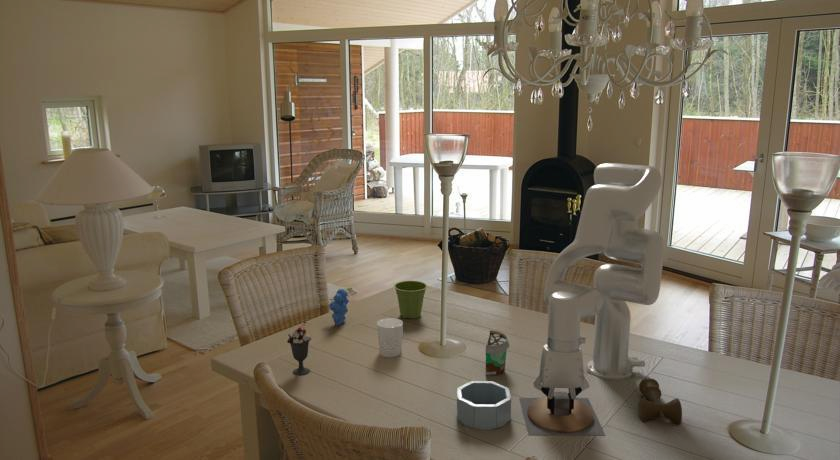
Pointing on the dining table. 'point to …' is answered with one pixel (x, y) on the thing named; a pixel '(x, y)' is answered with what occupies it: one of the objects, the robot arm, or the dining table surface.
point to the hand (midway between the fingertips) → (560, 410)
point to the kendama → (657, 403)
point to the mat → (536, 430)
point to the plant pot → (410, 298)
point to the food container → (496, 353)
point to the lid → (560, 414)
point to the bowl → (483, 405)
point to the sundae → (300, 349)
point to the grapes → (339, 306)
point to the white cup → (390, 337)
